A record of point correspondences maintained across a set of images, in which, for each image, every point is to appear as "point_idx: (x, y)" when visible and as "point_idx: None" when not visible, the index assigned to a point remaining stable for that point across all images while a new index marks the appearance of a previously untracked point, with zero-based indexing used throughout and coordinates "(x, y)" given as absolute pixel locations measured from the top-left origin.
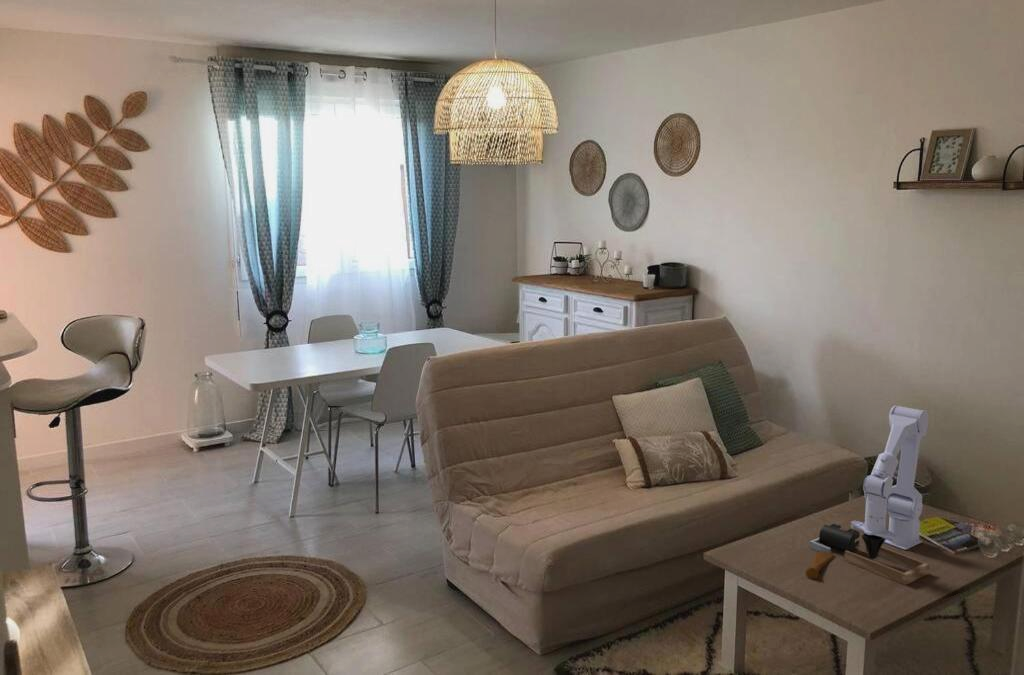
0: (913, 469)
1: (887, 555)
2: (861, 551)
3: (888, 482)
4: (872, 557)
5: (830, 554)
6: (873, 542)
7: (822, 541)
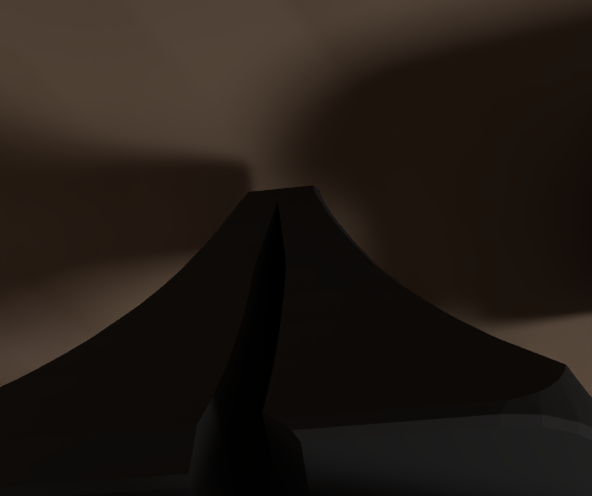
0: None
1: None
2: (554, 312)
3: None
4: (247, 199)
5: None
6: (81, 393)
7: None
